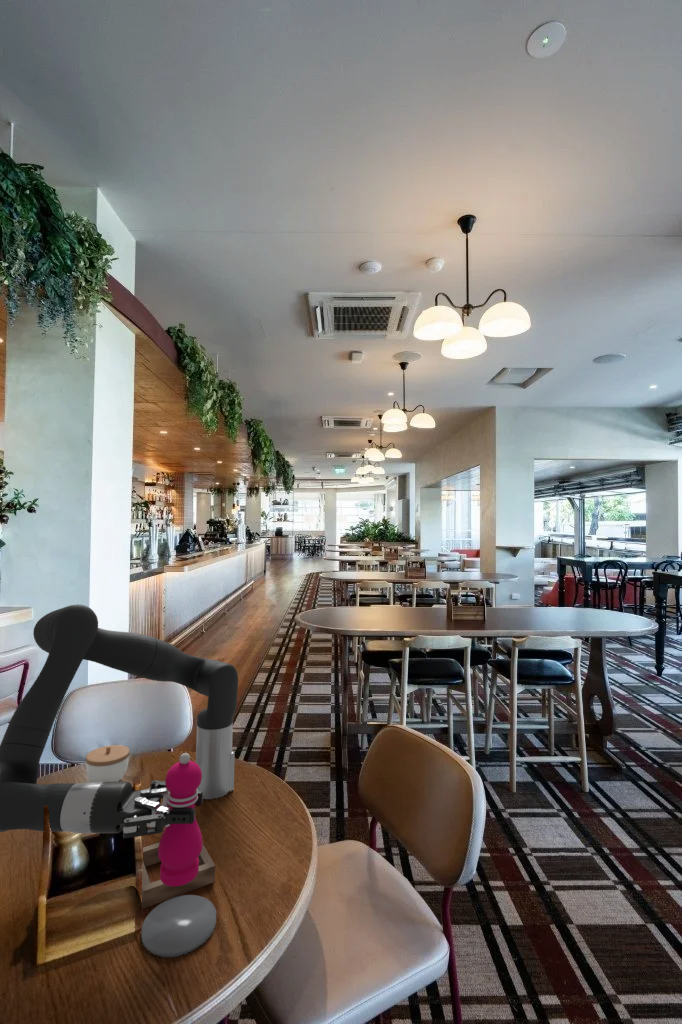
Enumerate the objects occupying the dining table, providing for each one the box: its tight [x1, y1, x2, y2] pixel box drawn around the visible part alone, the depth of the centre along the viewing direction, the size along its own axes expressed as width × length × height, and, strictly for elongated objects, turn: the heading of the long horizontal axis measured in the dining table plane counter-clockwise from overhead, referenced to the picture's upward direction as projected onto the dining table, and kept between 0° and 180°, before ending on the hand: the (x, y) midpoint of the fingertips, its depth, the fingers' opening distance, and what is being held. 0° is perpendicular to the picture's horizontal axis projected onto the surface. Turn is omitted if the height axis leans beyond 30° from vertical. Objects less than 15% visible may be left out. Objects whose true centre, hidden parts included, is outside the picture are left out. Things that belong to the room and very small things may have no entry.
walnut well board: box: [141, 841, 216, 910], centre depth 94 cm, size 13×13×3 cm
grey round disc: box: [140, 894, 217, 958], centre depth 81 cm, size 12×12×1 cm
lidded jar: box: [85, 744, 131, 782], centre depth 130 cm, size 11×11×9 cm
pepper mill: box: [158, 752, 204, 886], centre depth 83 cm, size 7×7×20 cm
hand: (198, 806), depth 83 cm, fingers closed on pepper mill, 4 cm apart
